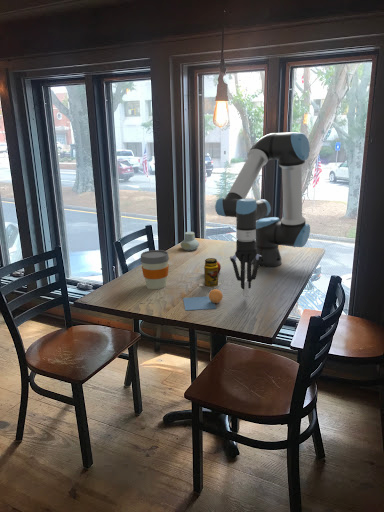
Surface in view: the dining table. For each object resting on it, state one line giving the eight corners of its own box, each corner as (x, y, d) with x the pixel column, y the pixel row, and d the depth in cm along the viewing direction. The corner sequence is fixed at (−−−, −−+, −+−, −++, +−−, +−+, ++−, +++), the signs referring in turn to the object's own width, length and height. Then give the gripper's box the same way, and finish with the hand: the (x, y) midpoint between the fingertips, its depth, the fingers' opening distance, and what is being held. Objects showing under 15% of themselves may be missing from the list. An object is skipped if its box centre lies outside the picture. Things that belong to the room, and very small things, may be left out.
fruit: (223, 274, 188) (214, 260, 186) (209, 282, 190) (200, 268, 189) (225, 269, 195) (217, 255, 194) (212, 276, 198) (203, 263, 197)
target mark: (211, 296, 167) (211, 296, 167) (216, 308, 156) (216, 308, 155) (183, 298, 166) (183, 298, 166) (185, 310, 155) (185, 310, 155)
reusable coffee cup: (137, 285, 182) (134, 253, 178) (159, 278, 190) (157, 248, 185) (152, 293, 173) (150, 259, 169) (175, 285, 181) (174, 253, 176)
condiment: (214, 288, 175) (214, 262, 172) (197, 285, 179) (197, 260, 176) (221, 283, 181) (221, 258, 178) (205, 280, 185) (204, 255, 182)
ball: (210, 301, 164) (223, 297, 164) (211, 306, 159) (225, 302, 158) (206, 289, 162) (219, 285, 162) (207, 294, 157) (220, 290, 157)
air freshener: (178, 249, 236) (177, 233, 233) (186, 246, 243) (186, 230, 240) (193, 252, 230) (193, 235, 227) (201, 248, 236) (201, 232, 234)
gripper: (231, 242, 151) (231, 300, 158) (265, 240, 152) (264, 298, 159) (227, 237, 158) (228, 293, 165) (260, 236, 159) (259, 291, 166)
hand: (245, 295), depth 162 cm, fingers closed
